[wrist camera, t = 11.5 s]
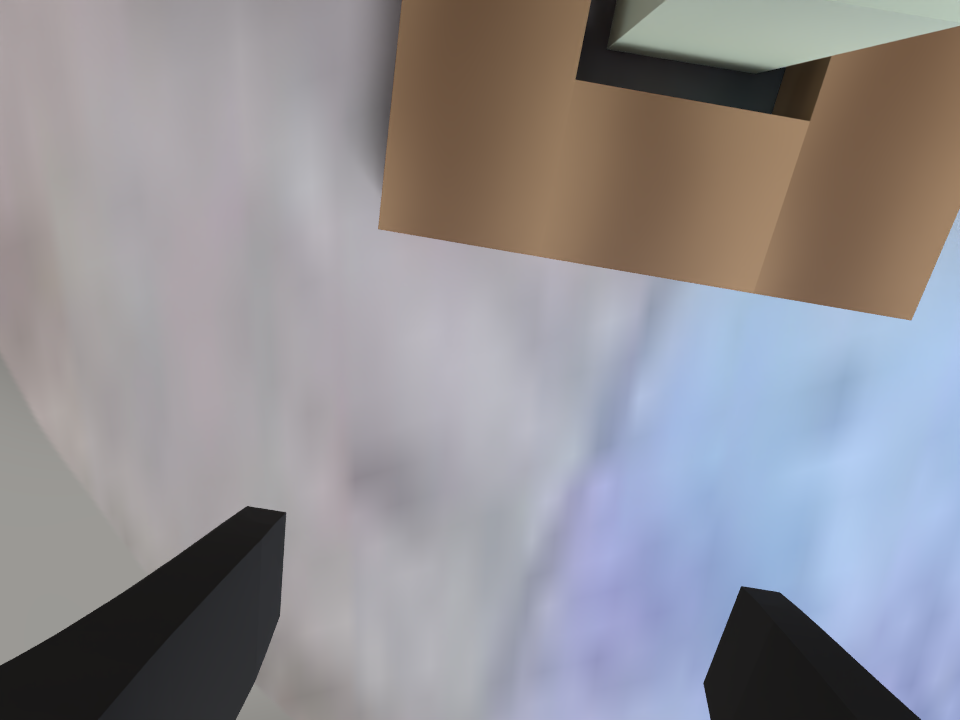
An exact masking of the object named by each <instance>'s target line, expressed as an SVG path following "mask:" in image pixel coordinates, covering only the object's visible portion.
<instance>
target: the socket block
mask: <svg viewBox="0 0 960 720" xmlns="http://www.w3.org/2000/svg"><path fill="white" fill-rule="evenodd" d="M590 4H591V0H402V4H401V14H400V24H399V33H398V43H397V53H396V62H395V72H394V81H393V91H392V101H391V110H390V120H389V130H388V139H387V149H386V158H385V168H384V178H383V187H382V197H381V207H380V216H379V226H378V229H381V230H387V231H393V232H398V233H404V234H410V235H416V236H422V237H428V238H433V239H439V240H445V241H451V242H457V243H463V244H468V245H474V246H480V247H486V248H492V249H498V250H503V251H509V252H515V253H521V254H527V255H533V256H538V257H544V258H550V259H556V260H562V261H568V262H574V263H579V264H585V265H591V266H597V267H603V268H609V269H614V270H620V271H626V272H632V273H638V274H644V275H649V276H655V277H661V278H667V279H673V280H679V281H684V282H690V283H696V284H702V285H708V286H714V287H719V288H725V289H731V290H737V291H743V292H749V293H754V294H760V295H766V296H772V297H778V298H784V299H789V300H795V301H801V302H807V303H813V304H819V305H824V306H830V307H836V308H842V309H848V310H854V311H859V312H865V313H871V314H877V315H883V316H889V317H895V318H900V319H906V320H912V318H913V315H914V313H915V311H916V308H917V306H918V304H919V301H920V299H921V297H922V294H923V292H924V290H925V287H926V285H927V283H928V280H929V278H930V276H931V274H932V271H933V269H934V267H935V264H936V262H937V260H938V257H939V255H940V253H941V250H942V248H943V246H944V243H945V241H946V239H947V236H948V234H949V232H950V229H951V227H952V225H953V222H954V220H955V218H956V215H957V213H958V211H959V209H960V26H957V27H952V28H948V29H944V30H940V31H935V32H931V33H927V34H923V35H918V36H914V37H910V38H906V39H901V40H897V41H893V42H889V43H884V44H880V45H876V46H871V47H867V48H863V49H859V50H854V51H850V52H846V53H842V54H837V55H833V56H829V57H825V58H820V59H816V60H812V61H808V62H803V63H799V64H795V65H790V66H786V69H785V73H784V76H783V79H782V82H781V86H780V89H779V92H778V95H777V99H776V102H775V105H774V108H773V112H772V114H766V113H761V112H755V111H749V110H744V109H738V108H732V107H727V106H721V105H715V104H710V103H704V102H699V101H693V100H687V99H682V98H676V97H670V96H665V95H659V94H653V93H648V92H642V91H636V90H631V89H625V88H619V87H614V86H608V85H603V84H597V83H591V82H586V81H580V80H575V79H576V74H577V69H578V64H579V59H580V54H581V49H582V44H583V39H584V34H585V29H586V24H587V19H588V14H589V9H590Z"/></svg>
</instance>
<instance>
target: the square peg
mask: <svg viewBox="0 0 960 720" xmlns="http://www.w3.org/2000/svg"><path fill="white" fill-rule="evenodd" d="M957 26H960V0H616V5H615V10H614V15H613V20H612V25H611V30H610V35H609V40H608V45H607V49H608V50H614V51H620V52H626V53H632V54H639V55H645V56H651V57H657V58H663V59H669V60H675V61H681V62H687V63H693V64H699V65H705V66H711V67H717V68H723V69H729V70H735V71H741V72H747V73H753V74H756V73H761V72H765V71H769V70H773V69H778V68H782V67H786V66H790V65H795V64H799V63H803V62H808V61H812V60H816V59H820V58H825V57H829V56H833V55H837V54H842V53H846V52H850V51H854V50H859V49H863V48H867V47H871V46H876V45H880V44H884V43H889V42H893V41H897V40H901V39H906V38H910V37H914V36H918V35H923V34H927V33H931V32H935V31H940V30H944V29H948V28H952V27H957Z"/></svg>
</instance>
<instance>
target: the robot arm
mask: <svg viewBox="0 0 960 720" xmlns="http://www.w3.org/2000/svg"><path fill="white" fill-rule="evenodd" d="M285 523H286V512H280V511H274V510H268V509H262V508H255V507H249V506H247V507H245V508H244V509H242V510H241V511H239V512H238V513H236V514H235V515H234V516H232V517H231V518H229V519H228V520H226V521H225V522H224V523H222V524H221V525H219V526H218V527H217V528H215V529H214V530H212V531H211V532H210V533H208V534H207V535H205V536H204V537H203V538H201V539H200V540H198V541H197V542H196V543H194V544H193V545H191V546H190V547H189V548H187V549H186V550H184V551H183V552H182V553H180V554H179V555H177V556H176V557H174V558H173V559H172V560H170V561H169V562H167V563H166V564H164V565H163V566H161V567H160V568H158V569H157V570H155V571H154V572H152V573H151V574H150V575H148V576H147V577H145V578H144V579H142V580H141V581H139V582H138V583H137V584H135V585H133V586H132V587H131V588H129V589H128V590H126V591H125V592H123V593H121V594H120V595H118V596H117V597H115V598H114V599H112V600H110V601H109V602H108V603H106V604H104V605H103V606H101V607H99V608H98V609H96V610H94V611H93V612H91V613H90V614H88V615H86V616H85V617H83V618H82V619H80V620H78V621H77V622H75V623H74V624H72V625H70V626H69V627H67V628H66V629H64V630H62V631H61V632H59V633H57V634H56V635H54V636H52V637H51V638H49V639H47V640H45V641H44V642H42V643H40V644H39V645H37V646H35V647H33V648H31V649H30V650H28V651H26V652H24V653H23V654H21V655H19V656H17V657H15V658H14V659H12V660H10V661H8V662H6V663H4V664H2V665H0V720H236V718H237V716H238V714H239V712H240V710H241V708H242V706H243V704H244V702H245V700H246V698H247V696H248V694H249V692H250V690H251V688H252V686H253V684H254V682H255V680H256V678H257V675H258V672H259V670H260V667H261V665H262V662H263V660H264V657H265V654H266V652H267V649H268V647H269V644H270V641H271V638H272V636H273V633H274V630H275V628H276V625H277V622H278V619H279V617H280V605H281V588H282V572H283V556H284V539H285ZM704 688H705V693H706V698H707V703H708V708H709V713H710V718H711V720H921V719H920V718H919V717H918V716H916V715H915V714H914V713H913V712H912V711H911V710H910V709H909V708H908V707H906V706H905V705H904V704H903V703H902V702H901V701H900V700H899V699H898V698H896V697H895V696H894V695H893V694H892V693H891V692H890V691H889V690H888V689H887V688H885V687H884V686H883V685H882V684H881V683H880V682H879V681H878V680H877V679H876V678H875V677H873V676H872V675H871V674H870V673H869V672H868V671H867V670H866V669H865V668H864V667H863V666H861V665H860V664H859V663H858V662H857V661H856V660H855V659H854V658H853V657H852V656H851V655H850V654H848V653H847V652H846V651H845V650H844V649H843V648H842V647H841V646H840V645H839V644H838V643H837V642H835V641H834V640H833V639H832V638H831V637H830V636H829V635H828V634H827V633H826V632H825V631H823V630H822V629H821V628H820V627H819V626H818V625H817V624H816V623H815V622H814V621H812V620H811V619H810V618H809V617H808V616H807V615H806V614H805V613H803V612H802V611H801V610H800V609H799V608H798V607H797V606H795V605H794V604H793V603H792V602H791V601H789V600H788V599H787V598H786V597H785V596H783V595H782V594H781V593H780V592H774V591H768V590H762V589H755V588H749V587H743V586H741V588H740V591H739V593H738V596H737V599H736V601H735V604H734V606H733V609H732V611H731V614H730V617H729V619H728V622H727V624H726V627H725V629H724V632H723V634H722V637H721V640H720V642H719V645H718V647H717V650H716V652H715V655H714V657H713V660H712V663H711V665H710V668H709V670H708V673H707V675H706V678H705V680H704Z"/></svg>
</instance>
